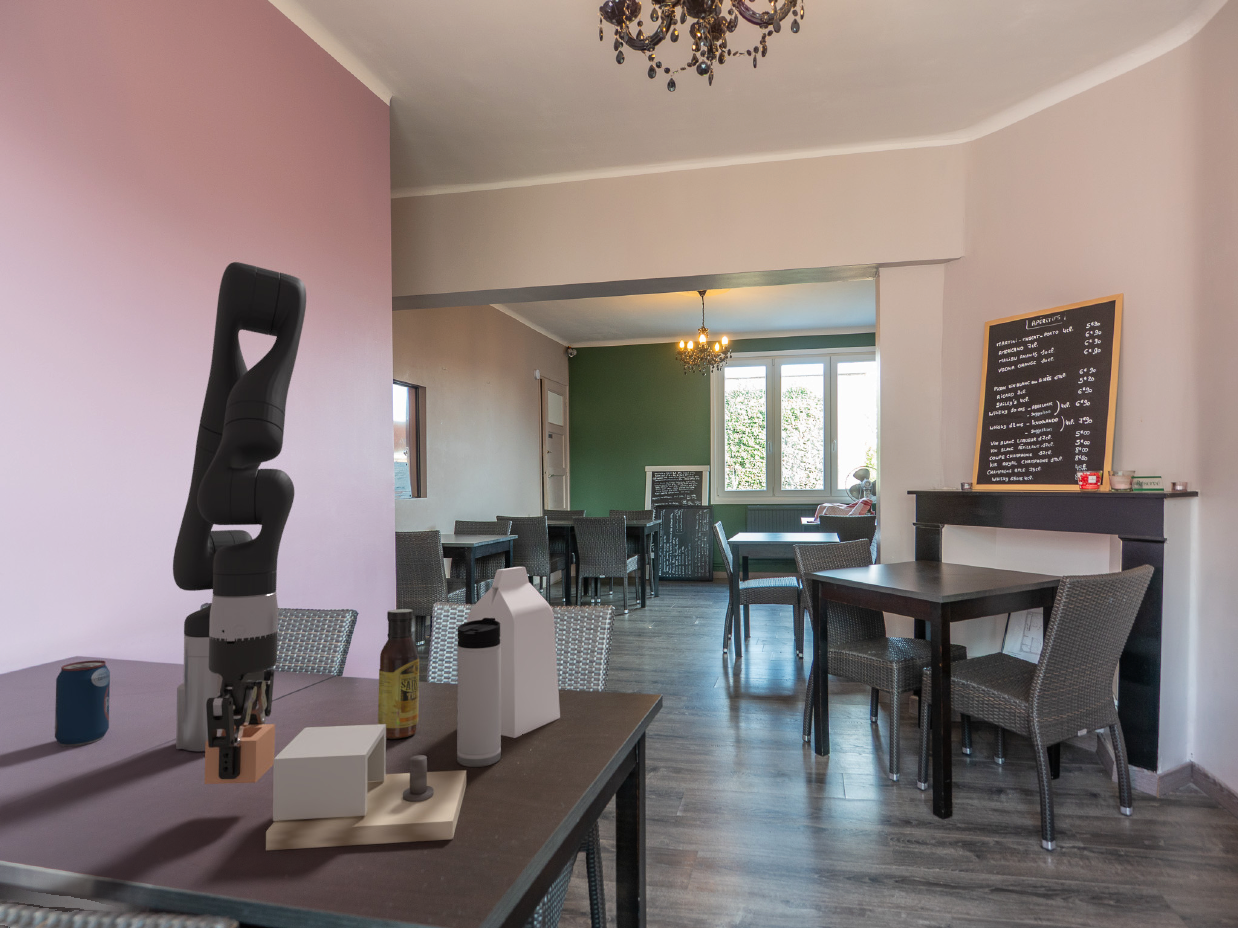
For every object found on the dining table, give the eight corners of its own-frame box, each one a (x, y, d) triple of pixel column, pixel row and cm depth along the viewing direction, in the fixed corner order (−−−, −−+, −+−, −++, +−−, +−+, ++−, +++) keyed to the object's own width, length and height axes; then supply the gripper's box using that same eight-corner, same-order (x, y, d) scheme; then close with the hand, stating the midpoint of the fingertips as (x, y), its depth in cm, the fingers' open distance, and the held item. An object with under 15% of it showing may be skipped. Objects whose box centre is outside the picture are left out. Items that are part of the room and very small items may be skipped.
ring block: (204, 783, 85) (205, 741, 85) (226, 764, 91) (227, 724, 91) (255, 782, 86) (256, 740, 86) (274, 763, 92) (275, 724, 92)
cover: (272, 820, 80) (273, 758, 81) (304, 781, 91) (305, 727, 92) (365, 815, 82) (365, 754, 82) (385, 777, 93) (385, 723, 93)
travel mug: (509, 753, 107) (509, 618, 108) (487, 769, 101) (487, 626, 102) (472, 749, 109) (472, 616, 110) (448, 764, 103) (448, 623, 104)
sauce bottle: (406, 741, 113) (406, 614, 113) (370, 739, 114) (370, 613, 115) (425, 728, 119) (426, 607, 120) (391, 726, 120) (391, 606, 121)
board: (265, 850, 78) (266, 789, 79) (309, 793, 93) (310, 742, 94) (452, 838, 81) (452, 780, 81) (466, 785, 96) (466, 735, 96)
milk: (514, 737, 114) (514, 573, 115) (461, 725, 120) (461, 569, 121) (560, 717, 124) (559, 566, 126) (509, 707, 131) (508, 563, 132)
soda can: (118, 736, 117) (119, 661, 117) (70, 750, 110) (72, 671, 111) (92, 730, 119) (94, 657, 120) (44, 743, 113) (46, 666, 114)
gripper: (237, 618, 96) (234, 746, 95) (182, 642, 81) (178, 793, 81) (296, 618, 96) (293, 745, 96) (251, 642, 82) (248, 791, 82)
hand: (240, 766), depth 88 cm, fingers closed on ring block, 5 cm apart
